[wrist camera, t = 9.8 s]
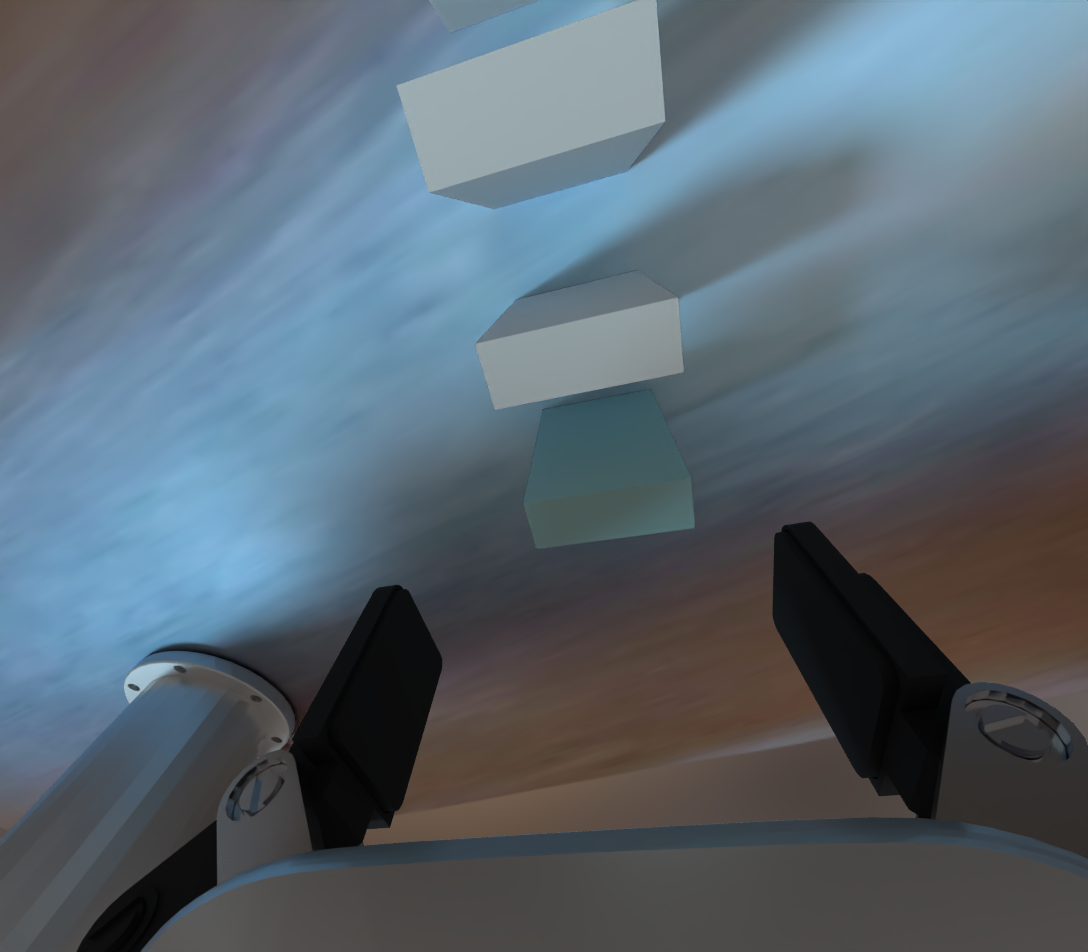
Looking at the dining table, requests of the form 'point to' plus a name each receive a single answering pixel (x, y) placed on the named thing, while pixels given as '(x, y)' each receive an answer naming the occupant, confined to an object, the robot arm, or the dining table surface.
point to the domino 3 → (606, 473)
